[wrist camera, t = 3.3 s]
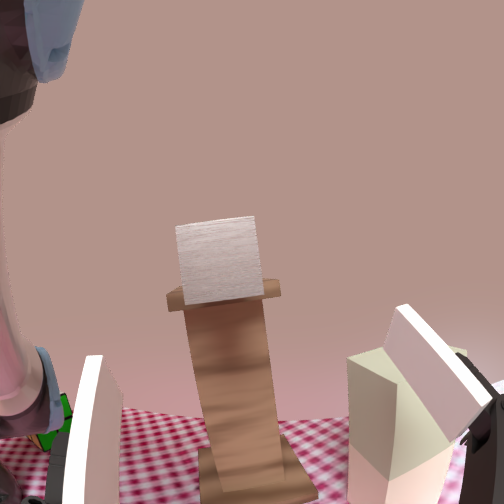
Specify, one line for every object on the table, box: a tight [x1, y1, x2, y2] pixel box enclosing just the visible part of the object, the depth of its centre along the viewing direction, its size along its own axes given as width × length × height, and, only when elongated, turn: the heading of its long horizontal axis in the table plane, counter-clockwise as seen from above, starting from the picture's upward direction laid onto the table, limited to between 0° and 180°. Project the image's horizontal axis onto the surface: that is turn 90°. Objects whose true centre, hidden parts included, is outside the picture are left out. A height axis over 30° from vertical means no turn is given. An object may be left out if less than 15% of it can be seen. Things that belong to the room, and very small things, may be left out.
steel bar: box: [175, 216, 264, 305], centre depth 29 cm, size 28×4×4 cm, turn 6°
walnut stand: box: [166, 278, 318, 504], centre depth 33 cm, size 16×14×28 cm
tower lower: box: [347, 443, 455, 504], centre depth 21 cm, size 8×8×10 cm
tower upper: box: [347, 346, 467, 481], centre depth 22 cm, size 8×8×10 cm
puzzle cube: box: [27, 391, 73, 452], centre depth 40 cm, size 10×10×10 cm
